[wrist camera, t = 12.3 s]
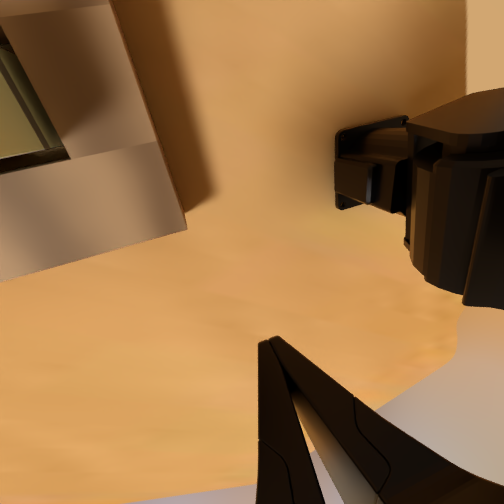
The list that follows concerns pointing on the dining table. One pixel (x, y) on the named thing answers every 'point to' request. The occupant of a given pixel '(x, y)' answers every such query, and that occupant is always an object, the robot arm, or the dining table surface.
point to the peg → (22, 112)
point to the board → (82, 142)
